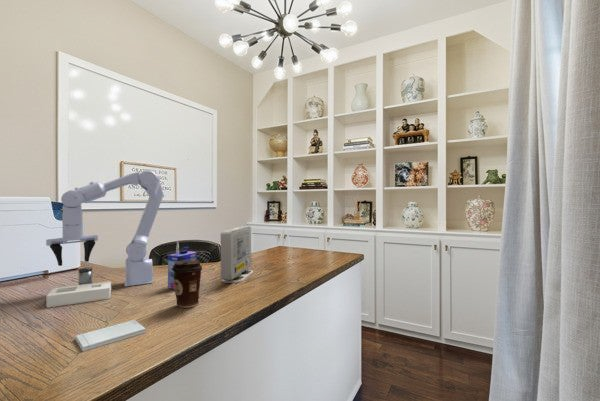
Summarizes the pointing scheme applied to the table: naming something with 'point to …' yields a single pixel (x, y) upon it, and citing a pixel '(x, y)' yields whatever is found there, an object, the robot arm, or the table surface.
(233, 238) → the network device
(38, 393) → the table surface
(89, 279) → the pipe stub
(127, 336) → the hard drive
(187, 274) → the coffee cup
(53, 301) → the block
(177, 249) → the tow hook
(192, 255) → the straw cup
